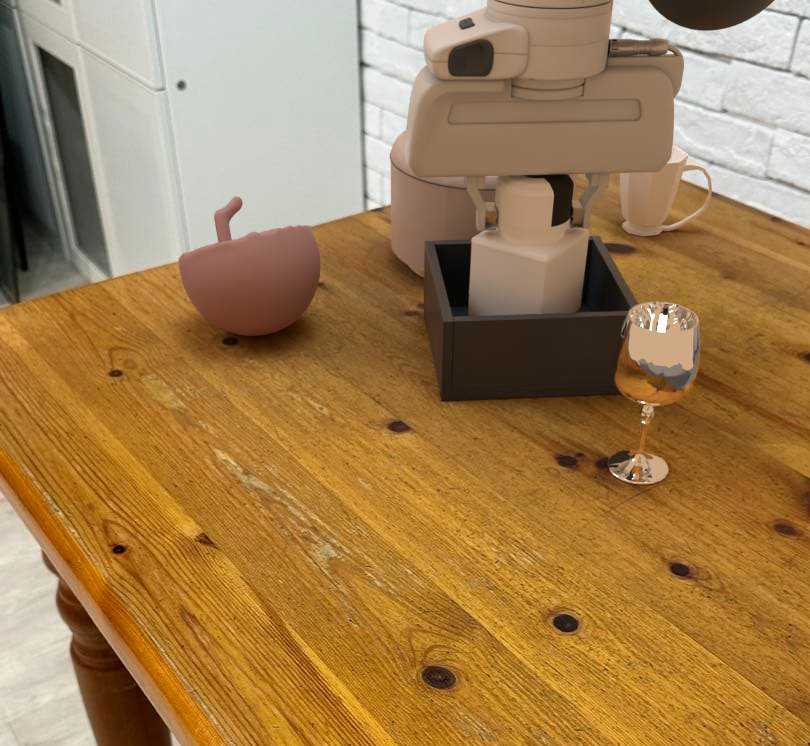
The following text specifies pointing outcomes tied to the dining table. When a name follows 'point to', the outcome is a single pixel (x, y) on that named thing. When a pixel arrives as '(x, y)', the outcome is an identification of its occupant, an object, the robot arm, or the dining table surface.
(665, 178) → the cup
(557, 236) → the medicine bottle
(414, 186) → the container
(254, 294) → the coconut drink
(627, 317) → the wineglass
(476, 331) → the black bin
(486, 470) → the dining table surface
